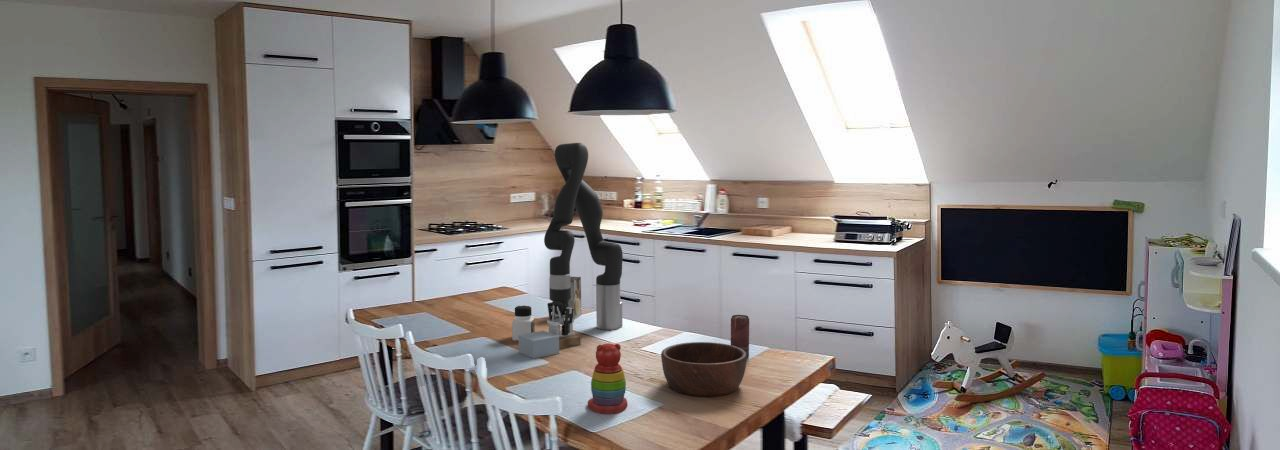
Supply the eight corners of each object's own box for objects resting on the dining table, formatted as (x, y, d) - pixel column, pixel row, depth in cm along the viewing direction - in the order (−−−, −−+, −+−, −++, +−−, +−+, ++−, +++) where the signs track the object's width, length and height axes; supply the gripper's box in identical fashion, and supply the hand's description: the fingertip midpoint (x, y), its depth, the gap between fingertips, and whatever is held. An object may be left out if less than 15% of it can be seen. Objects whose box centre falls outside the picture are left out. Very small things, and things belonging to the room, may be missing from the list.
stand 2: (565, 339, 285) (565, 331, 285) (580, 344, 277) (580, 336, 277) (541, 343, 279) (541, 335, 279) (556, 349, 271) (556, 341, 271)
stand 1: (543, 347, 274) (543, 330, 273) (559, 353, 266) (559, 336, 265) (518, 352, 268) (518, 335, 267) (533, 358, 260) (533, 340, 259)
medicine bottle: (531, 340, 283) (531, 308, 282) (512, 340, 284) (511, 308, 282) (534, 335, 291) (534, 304, 289) (515, 335, 291) (515, 304, 289)
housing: (566, 332, 282) (566, 316, 282) (574, 335, 278) (573, 319, 278) (547, 336, 277) (547, 319, 277) (554, 339, 273) (554, 322, 273)
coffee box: (567, 314, 327) (566, 276, 326) (581, 314, 326) (581, 276, 324) (559, 318, 318) (559, 279, 317) (574, 319, 317) (574, 280, 315)
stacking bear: (625, 400, 217) (625, 338, 215) (631, 413, 207) (630, 347, 205) (586, 403, 215) (586, 339, 214) (590, 415, 206) (589, 349, 204)
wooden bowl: (693, 369, 247) (693, 337, 246) (762, 384, 232) (763, 350, 231) (643, 388, 228) (643, 354, 227) (715, 406, 212) (715, 369, 211)
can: (727, 358, 259) (727, 317, 257) (734, 354, 264) (734, 313, 263) (744, 361, 256) (745, 319, 254) (751, 356, 262) (751, 315, 260)
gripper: (580, 288, 273) (580, 336, 274) (558, 282, 284) (558, 328, 286) (561, 290, 268) (562, 339, 270) (540, 284, 279) (541, 331, 281)
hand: (560, 333), depth 278 cm, fingers closed on housing, 5 cm apart
